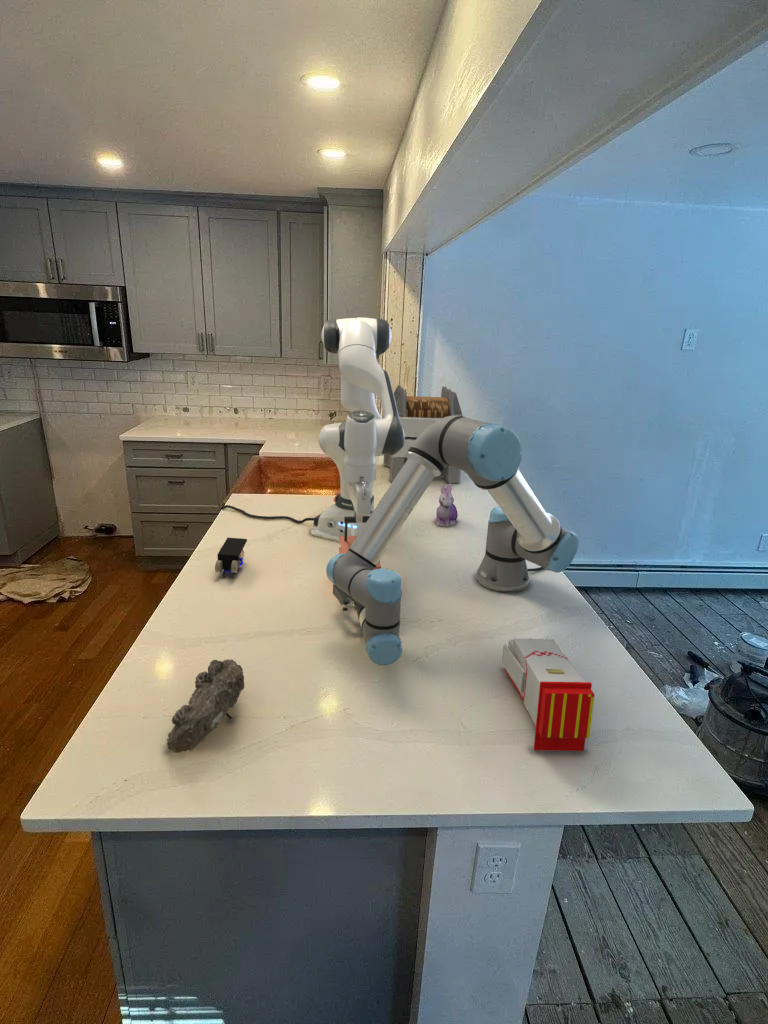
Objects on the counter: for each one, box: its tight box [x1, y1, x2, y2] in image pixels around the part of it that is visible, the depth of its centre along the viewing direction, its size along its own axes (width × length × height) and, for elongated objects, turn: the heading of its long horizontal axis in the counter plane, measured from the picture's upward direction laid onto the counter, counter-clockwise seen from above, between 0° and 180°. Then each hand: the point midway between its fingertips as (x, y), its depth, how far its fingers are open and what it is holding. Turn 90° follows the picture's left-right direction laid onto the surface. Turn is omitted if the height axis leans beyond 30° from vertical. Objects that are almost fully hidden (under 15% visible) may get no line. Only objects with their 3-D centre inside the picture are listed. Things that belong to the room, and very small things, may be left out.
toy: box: [500, 637, 595, 752], centre depth 114 cm, size 12×13×30 cm
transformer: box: [383, 384, 463, 484], centre depth 268 cm, size 34×33×41 cm
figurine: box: [434, 483, 459, 527], centre depth 210 cm, size 9×10×15 cm
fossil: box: [166, 658, 245, 754], centre depth 106 cm, size 22×10×15 cm
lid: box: [338, 516, 382, 570], centre depth 156 cm, size 17×10×9 cm, turn 10°
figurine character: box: [214, 537, 248, 578], centre depth 166 cm, size 7×8×15 cm
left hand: (358, 519), depth 159 cm, fingers closed on lid, 2 cm apart
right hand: (361, 574), depth 154 cm, fingers closed on chest, 10 cm apart
